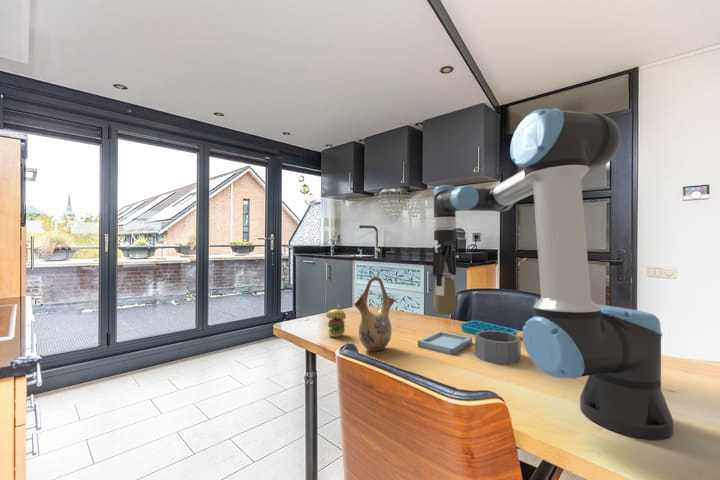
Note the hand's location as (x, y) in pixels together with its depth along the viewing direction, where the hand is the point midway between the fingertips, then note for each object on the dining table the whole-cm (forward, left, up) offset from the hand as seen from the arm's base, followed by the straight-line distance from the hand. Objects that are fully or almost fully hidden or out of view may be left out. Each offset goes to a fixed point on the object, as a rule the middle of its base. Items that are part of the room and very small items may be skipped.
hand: (445, 293), depth 116 cm
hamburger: (-17, +38, -18) cm, 46 cm away
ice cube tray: (+23, -7, -19) cm, 31 cm away
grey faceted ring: (0, -18, -18) cm, 26 cm away
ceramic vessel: (-20, +16, -18) cm, 32 cm away
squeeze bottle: (0, 0, -7) cm, 7 cm away
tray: (0, 0, -18) cm, 18 cm away
